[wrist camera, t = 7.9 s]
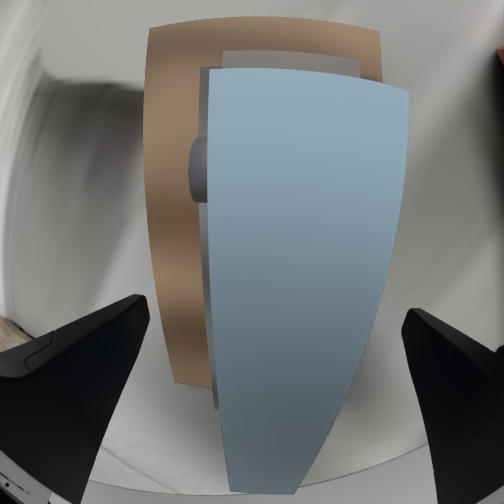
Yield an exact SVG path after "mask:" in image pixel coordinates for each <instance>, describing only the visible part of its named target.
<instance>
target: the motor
mask: <svg viewBox="0 0 504 504" xmlns="http://www.w3.org/2000/svg"><path fill="white" fill-rule="evenodd" d="M496 51H497V53H498V55H499V58H500V60H501V62H502V64H503V66H504V46H503V47H499V48H496Z"/></svg>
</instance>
